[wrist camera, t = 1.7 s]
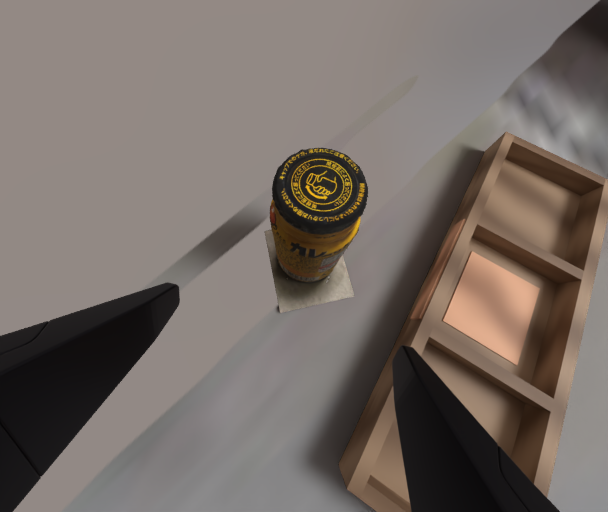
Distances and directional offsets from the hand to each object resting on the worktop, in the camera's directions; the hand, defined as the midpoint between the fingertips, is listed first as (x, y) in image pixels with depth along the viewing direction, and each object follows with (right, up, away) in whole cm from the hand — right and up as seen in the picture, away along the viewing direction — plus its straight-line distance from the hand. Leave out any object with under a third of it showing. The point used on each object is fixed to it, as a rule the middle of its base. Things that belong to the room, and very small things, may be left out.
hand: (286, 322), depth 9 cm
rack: (+18, -2, +14) cm, 23 cm away
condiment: (+1, +2, +14) cm, 15 cm away
